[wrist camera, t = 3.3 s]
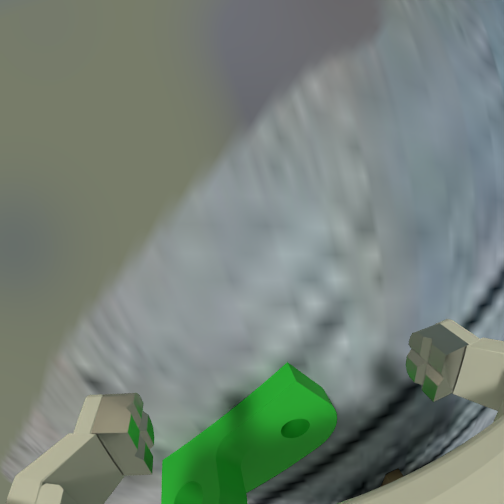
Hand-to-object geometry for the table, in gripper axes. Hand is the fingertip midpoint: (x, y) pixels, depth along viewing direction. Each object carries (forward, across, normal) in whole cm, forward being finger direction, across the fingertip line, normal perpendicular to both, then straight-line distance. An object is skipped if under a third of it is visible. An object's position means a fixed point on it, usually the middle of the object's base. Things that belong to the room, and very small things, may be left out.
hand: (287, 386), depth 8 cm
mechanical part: (+8, +1, +11) cm, 14 cm away
